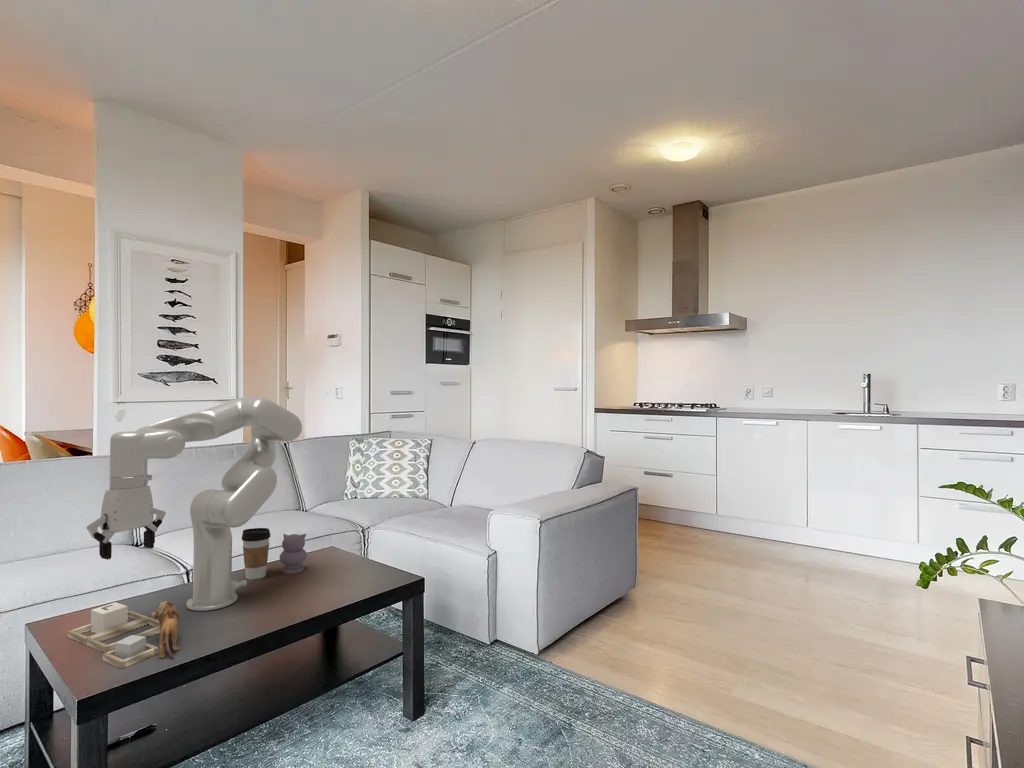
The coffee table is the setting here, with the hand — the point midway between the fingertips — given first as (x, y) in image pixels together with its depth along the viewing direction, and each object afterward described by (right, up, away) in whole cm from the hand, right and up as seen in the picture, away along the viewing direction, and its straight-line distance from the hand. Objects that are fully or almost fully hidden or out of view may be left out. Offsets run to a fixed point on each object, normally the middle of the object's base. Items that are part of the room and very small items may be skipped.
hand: (128, 552), depth 133 cm
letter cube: (-7, -20, +4) cm, 22 cm away
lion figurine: (+12, -21, -5) cm, 25 cm away
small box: (+8, -20, -10) cm, 24 cm away
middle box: (+1, -20, 0) cm, 20 cm away
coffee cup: (+11, -21, +43) cm, 49 cm away
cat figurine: (+21, -21, +48) cm, 57 cm away
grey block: (+8, -20, -10) cm, 24 cm away
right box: (-7, -20, +4) cm, 22 cm away
